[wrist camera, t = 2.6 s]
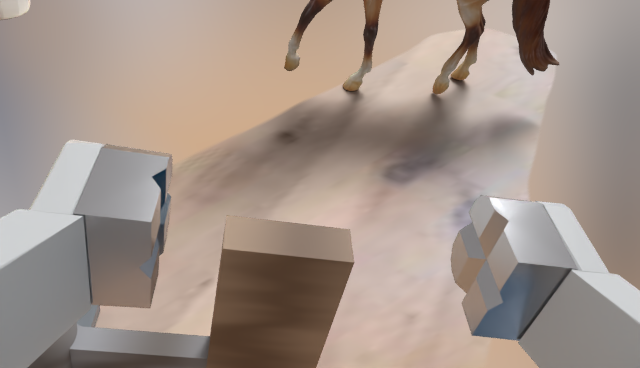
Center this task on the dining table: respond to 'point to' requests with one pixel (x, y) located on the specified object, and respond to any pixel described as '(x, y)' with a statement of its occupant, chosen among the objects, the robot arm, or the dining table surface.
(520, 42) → the horse figurine
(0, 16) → the white cup
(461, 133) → the dining table surface
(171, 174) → the robot arm
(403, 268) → the dining table surface
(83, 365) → the lever with brown handle
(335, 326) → the dining table surface
